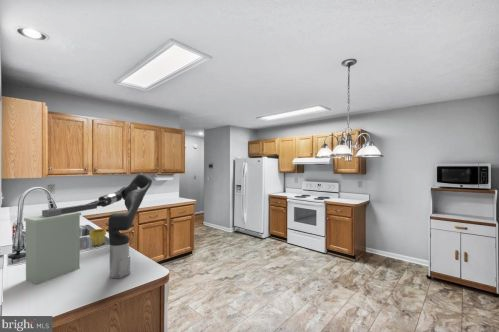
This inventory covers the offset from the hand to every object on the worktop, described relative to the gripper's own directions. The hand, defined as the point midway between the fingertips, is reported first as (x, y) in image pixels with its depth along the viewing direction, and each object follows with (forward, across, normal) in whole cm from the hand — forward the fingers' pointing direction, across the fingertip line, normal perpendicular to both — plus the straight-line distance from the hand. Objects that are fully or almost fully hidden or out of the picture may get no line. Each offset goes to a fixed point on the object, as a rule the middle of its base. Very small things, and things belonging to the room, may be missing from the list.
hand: (86, 207), depth 154 cm
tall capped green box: (+29, -4, -28) cm, 41 cm away
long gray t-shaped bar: (+16, -10, +2) cm, 19 cm away
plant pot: (-13, +18, -31) cm, 38 cm away
